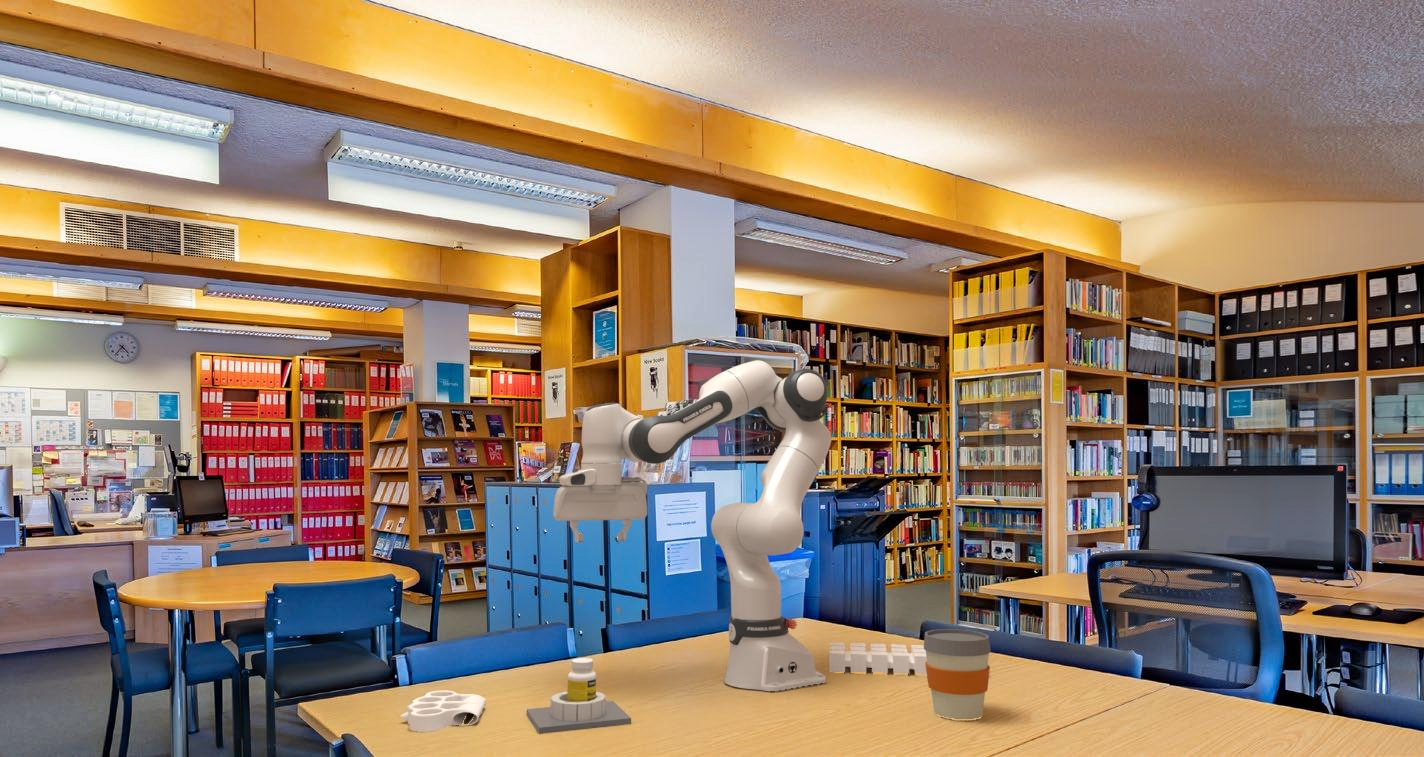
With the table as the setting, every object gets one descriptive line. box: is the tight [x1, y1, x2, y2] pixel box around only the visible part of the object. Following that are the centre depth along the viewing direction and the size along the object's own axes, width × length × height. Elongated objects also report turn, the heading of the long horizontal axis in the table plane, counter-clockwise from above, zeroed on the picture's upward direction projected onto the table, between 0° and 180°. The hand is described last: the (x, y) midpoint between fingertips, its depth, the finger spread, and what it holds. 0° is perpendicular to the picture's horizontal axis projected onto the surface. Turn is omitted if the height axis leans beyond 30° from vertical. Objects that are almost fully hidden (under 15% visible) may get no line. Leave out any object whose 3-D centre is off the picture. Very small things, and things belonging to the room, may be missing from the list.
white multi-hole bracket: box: [398, 690, 487, 733], centre depth 170 cm, size 3×18×15 cm
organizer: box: [828, 641, 927, 674], centre depth 211 cm, size 13×5×35 cm
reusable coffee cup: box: [923, 628, 992, 719], centre depth 174 cm, size 13×13×15 cm
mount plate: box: [526, 691, 632, 734], centre depth 170 cm, size 17×13×4 cm
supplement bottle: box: [566, 657, 597, 702], centre depth 170 cm, size 5×5×10 cm
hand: (600, 541), depth 194 cm, fingers open, 8 cm apart
